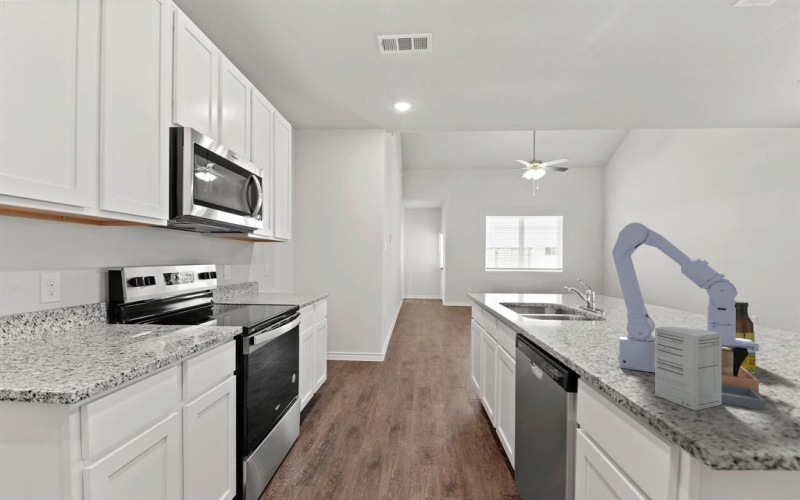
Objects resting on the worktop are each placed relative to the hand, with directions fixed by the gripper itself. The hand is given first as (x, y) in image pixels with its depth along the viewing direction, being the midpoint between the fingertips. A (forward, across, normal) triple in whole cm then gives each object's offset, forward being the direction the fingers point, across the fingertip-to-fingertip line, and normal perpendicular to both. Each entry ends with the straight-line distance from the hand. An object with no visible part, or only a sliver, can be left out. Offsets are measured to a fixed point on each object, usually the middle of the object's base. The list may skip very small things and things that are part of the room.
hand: (720, 373), depth 97 cm
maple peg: (+2, 0, 0) cm, 2 cm away
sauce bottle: (+3, +10, +25) cm, 27 cm away
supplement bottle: (+3, +8, +15) cm, 17 cm away
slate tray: (+2, 0, -14) cm, 14 cm away
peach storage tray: (+2, 0, 0) cm, 2 cm away
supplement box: (+3, -10, -20) cm, 23 cm away
